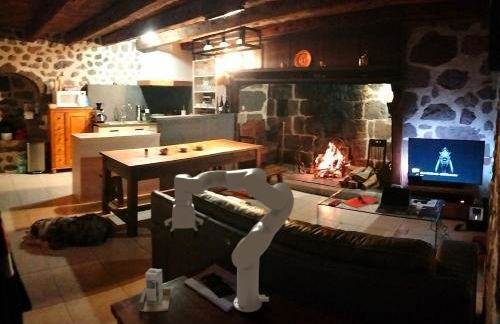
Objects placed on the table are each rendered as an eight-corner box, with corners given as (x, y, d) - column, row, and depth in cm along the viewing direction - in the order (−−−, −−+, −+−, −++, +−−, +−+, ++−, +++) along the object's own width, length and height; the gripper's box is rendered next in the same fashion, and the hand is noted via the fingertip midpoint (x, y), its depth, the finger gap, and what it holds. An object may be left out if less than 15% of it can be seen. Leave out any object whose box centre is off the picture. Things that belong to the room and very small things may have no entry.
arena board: (170, 295, 187) (170, 287, 186) (168, 310, 176) (167, 301, 175) (144, 296, 186) (143, 288, 185) (139, 311, 175) (139, 302, 174)
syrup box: (146, 303, 179) (144, 273, 176) (151, 296, 185) (150, 267, 181) (158, 305, 178) (157, 274, 175) (163, 297, 184) (162, 268, 181)
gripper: (162, 205, 174) (164, 242, 178) (203, 204, 176) (203, 241, 179) (164, 200, 181) (165, 235, 185) (203, 199, 183) (203, 234, 187)
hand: (184, 238), depth 182 cm, fingers open, 9 cm apart
